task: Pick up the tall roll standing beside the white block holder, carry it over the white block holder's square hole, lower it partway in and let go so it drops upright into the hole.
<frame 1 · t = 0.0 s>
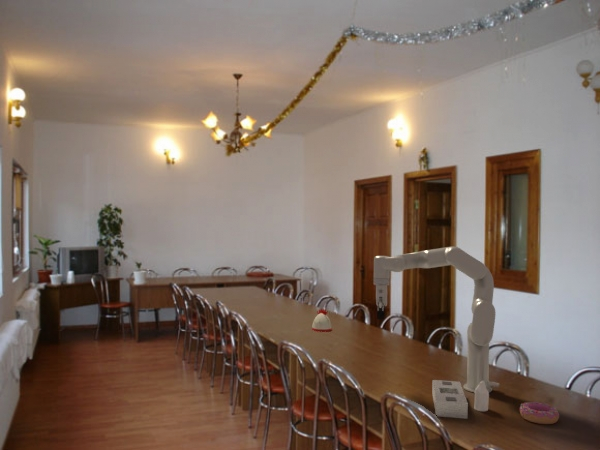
hand: (380, 317, 261), 31 cm above the table, tool pointing down, fingers open, 9 cm apart
donut: (538, 419, 216), on the table
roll: (481, 409, 225), on the table
white block holder: (448, 405, 230), on the table
cream hat: (321, 330, 387), on the table
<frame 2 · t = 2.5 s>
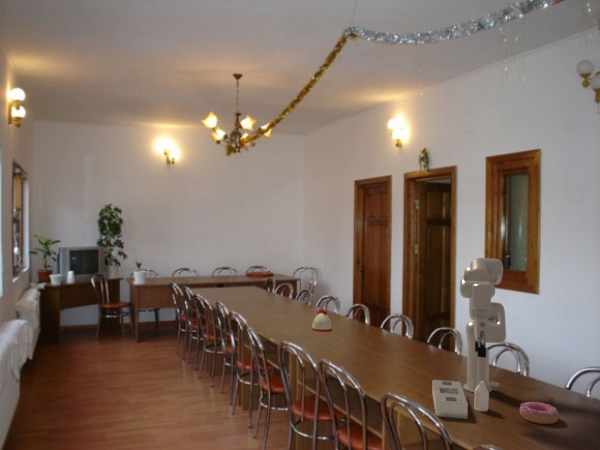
hand: (480, 354, 226), 23 cm above the table, tool pointing down, fingers open, 9 cm apart
nothing on the table moved.
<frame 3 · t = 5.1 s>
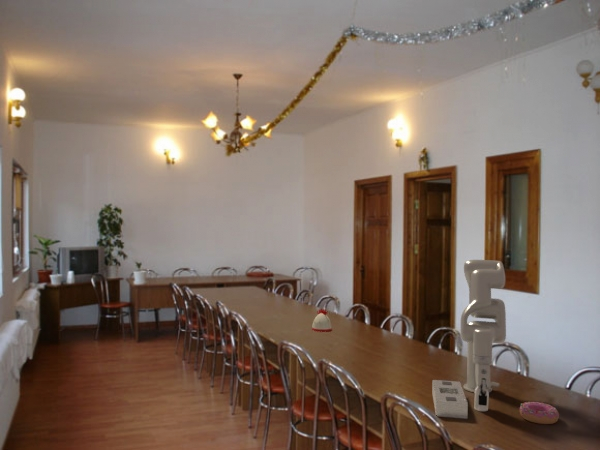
hand: (481, 402, 225), 3 cm above the table, tool pointing down, fingers closed on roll, 5 cm apart
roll: (481, 409, 225), on the table, touching gripper
everything else where it was.
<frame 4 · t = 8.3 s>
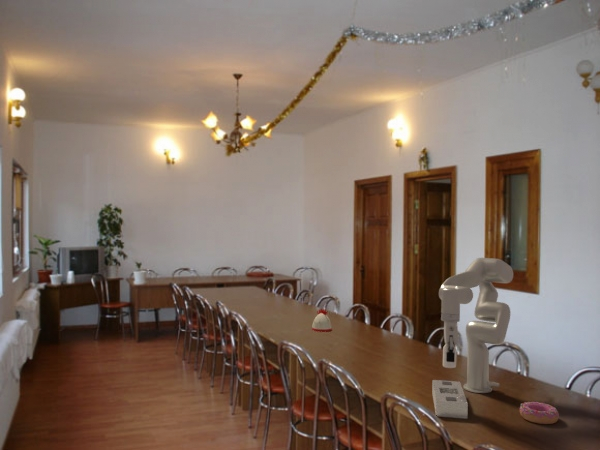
hand: (449, 359, 230), 19 cm above the table, tool pointing down, fingers closed on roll, 5 cm apart
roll: (449, 366, 230), point 16 cm above the table, touching gripper
everything else where it was.
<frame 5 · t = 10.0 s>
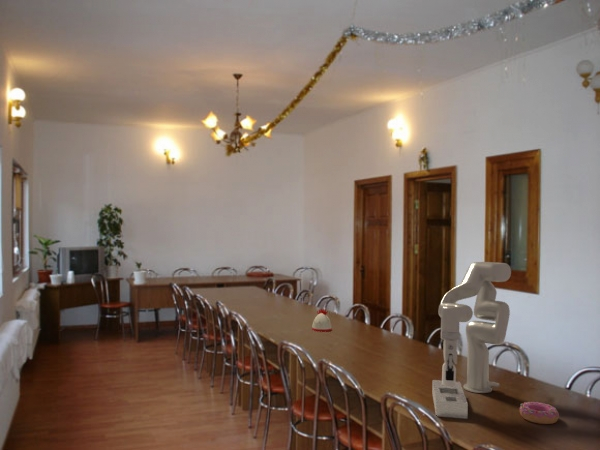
hand: (449, 377, 230), 12 cm above the table, tool pointing down, fingers closed on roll, 5 cm apart
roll: (448, 385, 230), point 8 cm above the table, touching gripper
everything else where it was.
when the fingers open (7 cm above the table, at t = 11.5 s): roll drops 4 cm, resting in white block holder.
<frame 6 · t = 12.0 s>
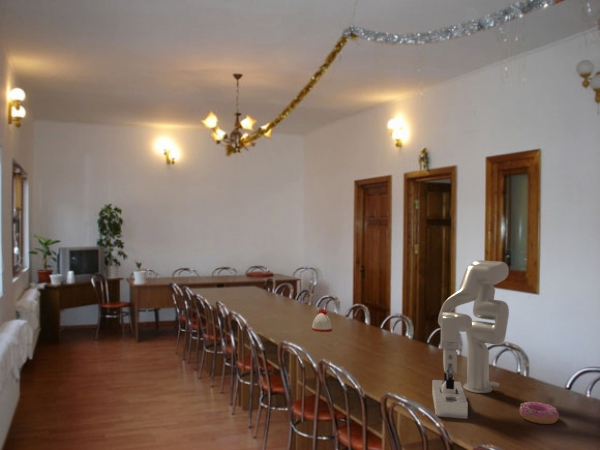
hand: (448, 385, 230), 8 cm above the table, tool pointing down, fingers open, 9 cm apart
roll: (448, 405, 230), resting in white block holder
everything else where it was.
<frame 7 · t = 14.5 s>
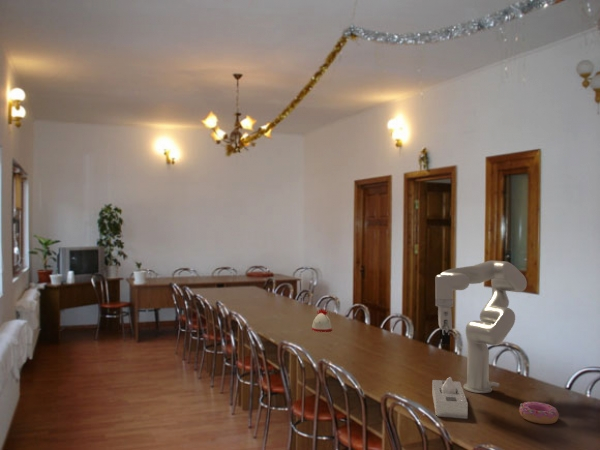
hand: (444, 341, 239), 25 cm above the table, tool pointing down, fingers open, 9 cm apart
nothing on the table moved.
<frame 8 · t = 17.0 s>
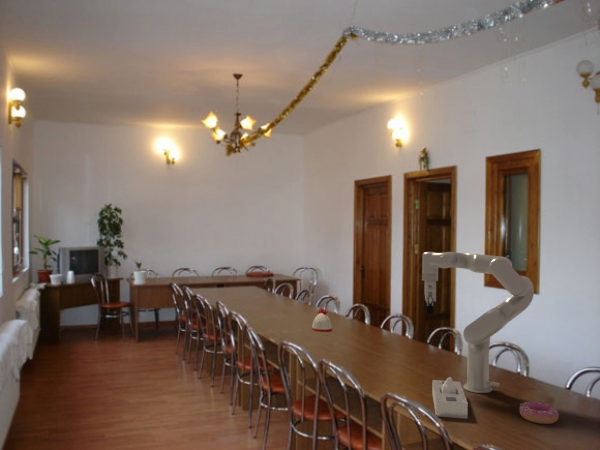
hand: (429, 312, 264), 33 cm above the table, tool pointing down, fingers open, 9 cm apart
nothing on the table moved.
at the end: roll 0.2 cm off-centre on the white block holder, point 0.0 cm above the white block holder's base; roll tilted 1°; the gripper is holding nothing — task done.
